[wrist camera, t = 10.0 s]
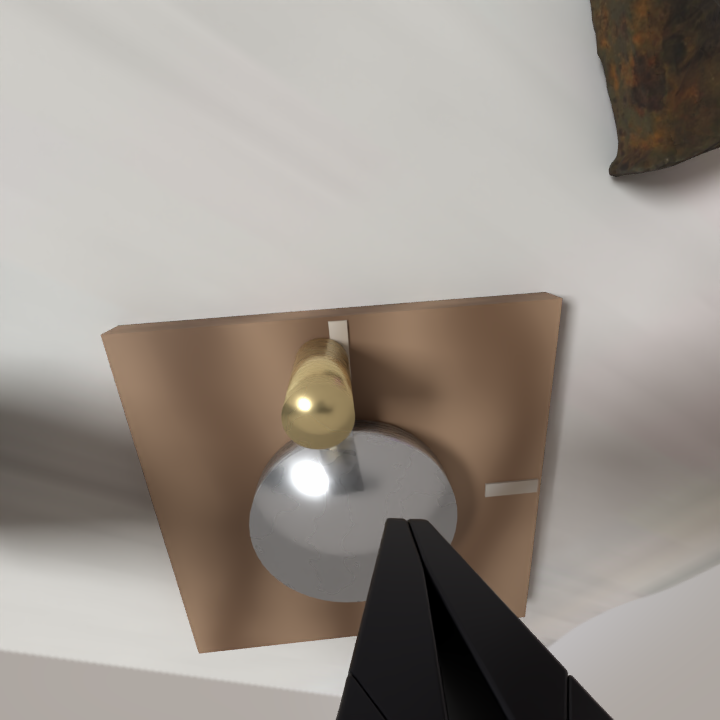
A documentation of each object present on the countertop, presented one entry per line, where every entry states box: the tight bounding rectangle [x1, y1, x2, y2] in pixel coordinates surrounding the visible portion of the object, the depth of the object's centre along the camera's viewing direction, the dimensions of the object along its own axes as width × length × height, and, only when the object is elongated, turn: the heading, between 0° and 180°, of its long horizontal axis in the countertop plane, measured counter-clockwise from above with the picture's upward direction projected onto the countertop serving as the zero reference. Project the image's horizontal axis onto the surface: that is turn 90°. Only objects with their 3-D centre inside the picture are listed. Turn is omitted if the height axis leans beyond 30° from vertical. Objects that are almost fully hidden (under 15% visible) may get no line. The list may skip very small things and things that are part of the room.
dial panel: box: [101, 292, 562, 653], centre depth 21 cm, size 20×20×2 cm
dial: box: [249, 338, 457, 602], centre depth 17 cm, size 14×10×5 cm
